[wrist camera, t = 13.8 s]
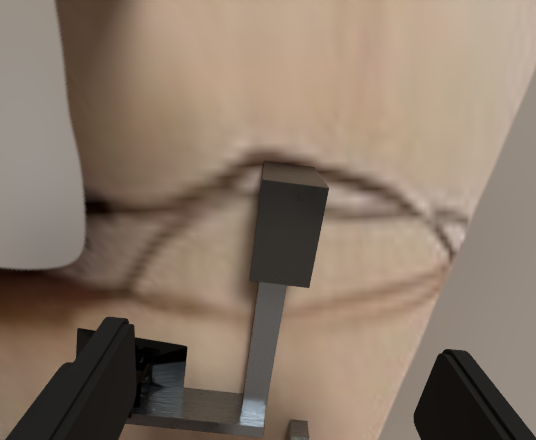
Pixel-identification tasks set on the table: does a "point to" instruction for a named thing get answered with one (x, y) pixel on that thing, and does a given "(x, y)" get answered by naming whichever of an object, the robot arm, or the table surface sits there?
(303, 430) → the pale green block
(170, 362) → the black phone stand
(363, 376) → the table surface
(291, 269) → the grey angular bent frame
